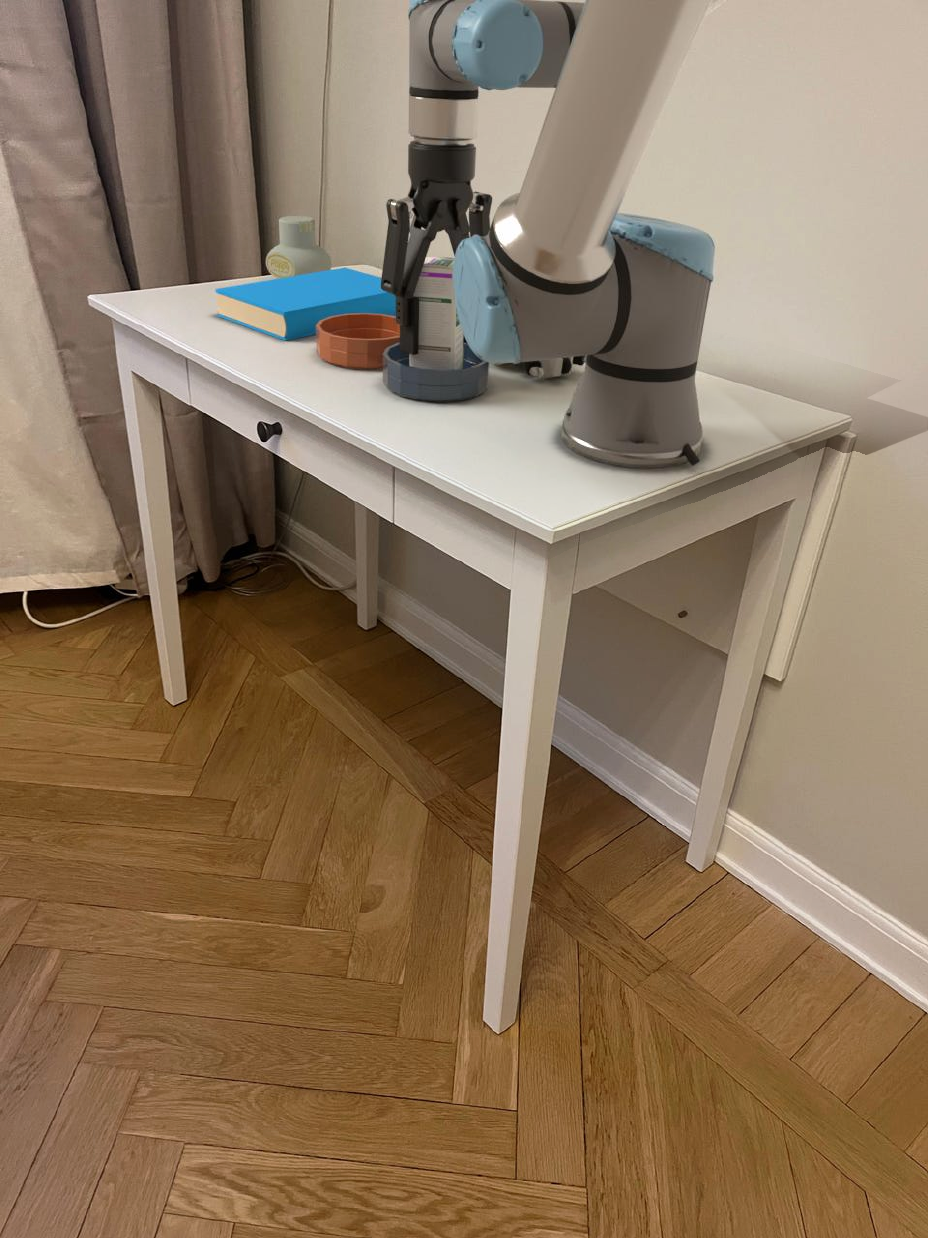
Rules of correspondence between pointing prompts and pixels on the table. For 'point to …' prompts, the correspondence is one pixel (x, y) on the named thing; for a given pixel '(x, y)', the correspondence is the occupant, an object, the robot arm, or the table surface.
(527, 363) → the robot toy
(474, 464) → the table surface
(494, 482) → the table surface
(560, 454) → the table surface
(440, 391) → the slate bowl
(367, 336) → the terracotta bowl
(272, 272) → the air freshener
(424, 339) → the syrup box
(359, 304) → the book
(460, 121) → the robot arm
